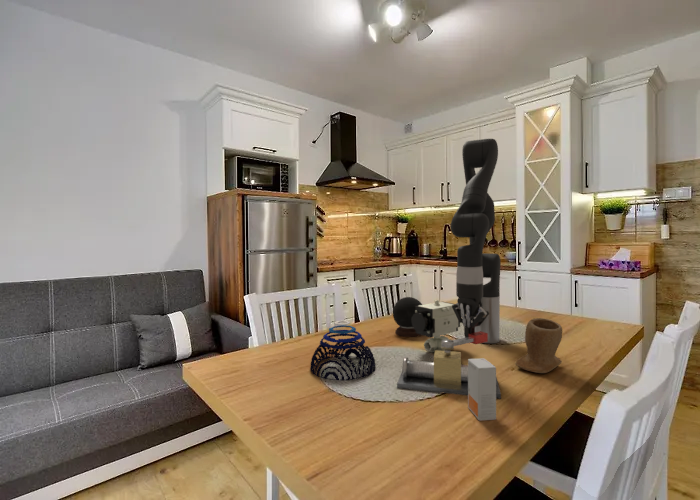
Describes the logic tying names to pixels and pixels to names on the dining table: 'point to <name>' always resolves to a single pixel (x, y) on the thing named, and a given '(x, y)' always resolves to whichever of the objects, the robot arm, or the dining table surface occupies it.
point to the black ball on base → (405, 316)
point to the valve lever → (465, 340)
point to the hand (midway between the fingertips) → (469, 338)
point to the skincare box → (482, 389)
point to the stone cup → (541, 346)
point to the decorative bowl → (364, 352)
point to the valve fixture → (438, 374)
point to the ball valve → (435, 323)
